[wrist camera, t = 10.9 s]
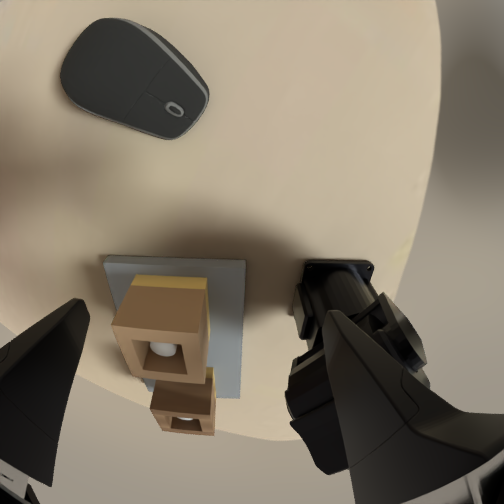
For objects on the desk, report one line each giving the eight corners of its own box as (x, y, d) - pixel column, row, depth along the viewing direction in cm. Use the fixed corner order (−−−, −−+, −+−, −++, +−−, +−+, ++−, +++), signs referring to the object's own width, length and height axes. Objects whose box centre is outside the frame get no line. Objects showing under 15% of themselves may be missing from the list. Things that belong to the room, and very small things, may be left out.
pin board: (108, 255, 21) (71, 309, 15) (245, 259, 22) (247, 323, 16) (150, 384, 31) (140, 429, 25) (239, 390, 32) (240, 439, 26)
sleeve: (216, 393, 30) (214, 435, 25) (169, 390, 30) (162, 430, 25) (213, 367, 27) (210, 415, 22) (159, 363, 27) (149, 408, 22)
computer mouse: (168, 160, 18) (150, 173, 15) (59, 81, 14) (28, 82, 10) (231, 83, 16) (228, 76, 12) (110, 8, 11) (85, -6, 8)
